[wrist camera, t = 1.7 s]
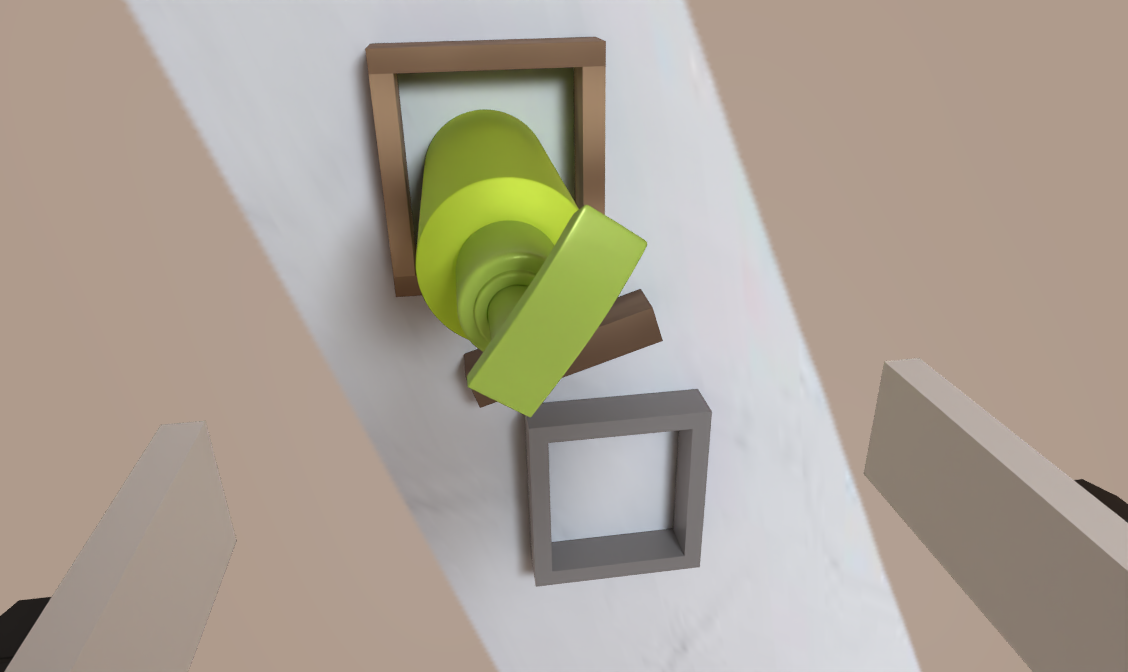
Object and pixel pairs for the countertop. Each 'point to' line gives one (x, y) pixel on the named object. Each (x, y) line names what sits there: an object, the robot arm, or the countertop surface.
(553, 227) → the soap dispenser
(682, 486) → the keeper frame
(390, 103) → the walnut holder
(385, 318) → the countertop surface
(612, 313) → the door edge rail
